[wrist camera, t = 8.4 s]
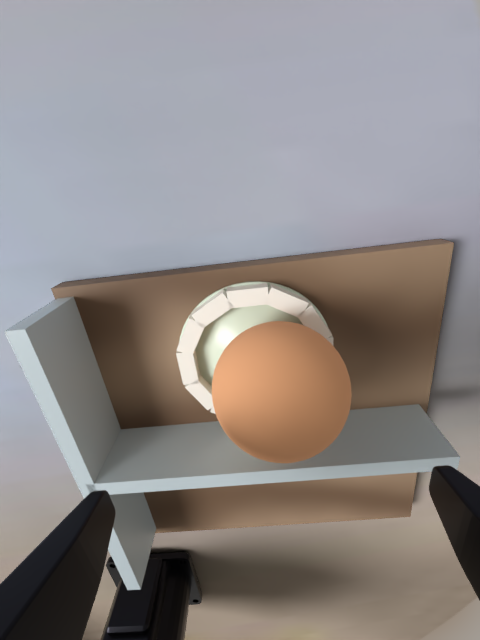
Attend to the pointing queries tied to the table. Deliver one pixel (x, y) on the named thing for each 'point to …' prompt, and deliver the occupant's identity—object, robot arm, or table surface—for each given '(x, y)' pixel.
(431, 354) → the board
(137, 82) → the table surface
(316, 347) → the ball
